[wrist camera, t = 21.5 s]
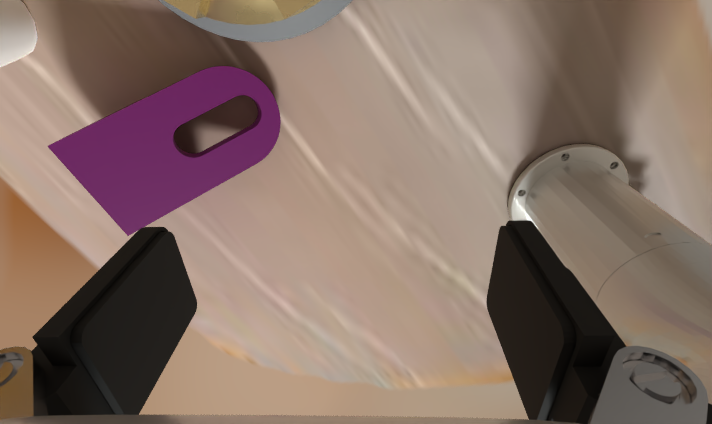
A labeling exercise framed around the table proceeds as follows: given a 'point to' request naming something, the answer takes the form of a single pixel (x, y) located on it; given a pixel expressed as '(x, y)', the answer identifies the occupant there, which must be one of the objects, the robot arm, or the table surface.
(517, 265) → the robot arm
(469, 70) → the table surface
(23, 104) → the table surface
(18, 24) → the foam cup
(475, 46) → the table surface
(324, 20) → the grey round plate
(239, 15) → the brass lugged disc
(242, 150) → the mounting bracket
